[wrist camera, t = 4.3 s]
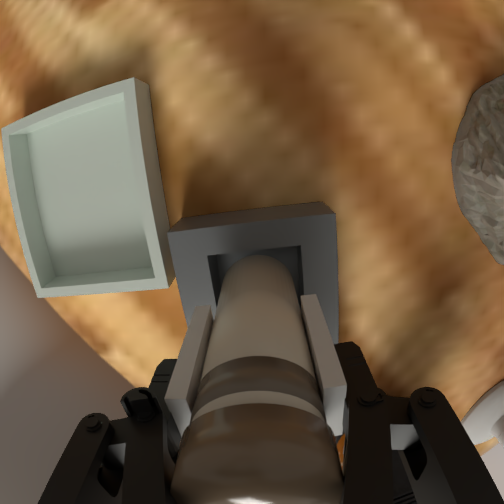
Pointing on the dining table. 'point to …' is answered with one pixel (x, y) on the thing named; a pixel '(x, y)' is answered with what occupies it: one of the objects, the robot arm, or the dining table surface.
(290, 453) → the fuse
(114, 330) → the dining table surface
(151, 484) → the robot arm
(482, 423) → the candlestick
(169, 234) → the block
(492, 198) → the grey jagged lump
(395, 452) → the canister
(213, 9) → the dining table surface
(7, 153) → the parts tray
